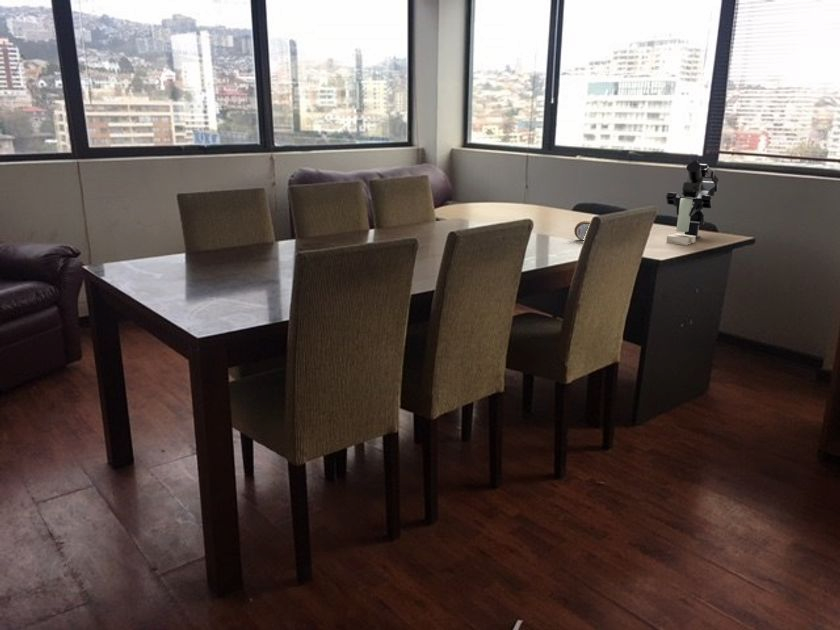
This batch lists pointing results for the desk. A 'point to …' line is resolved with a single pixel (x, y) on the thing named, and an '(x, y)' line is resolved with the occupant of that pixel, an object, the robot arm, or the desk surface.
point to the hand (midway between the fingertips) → (683, 215)
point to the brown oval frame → (581, 229)
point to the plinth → (680, 239)
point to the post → (684, 215)
